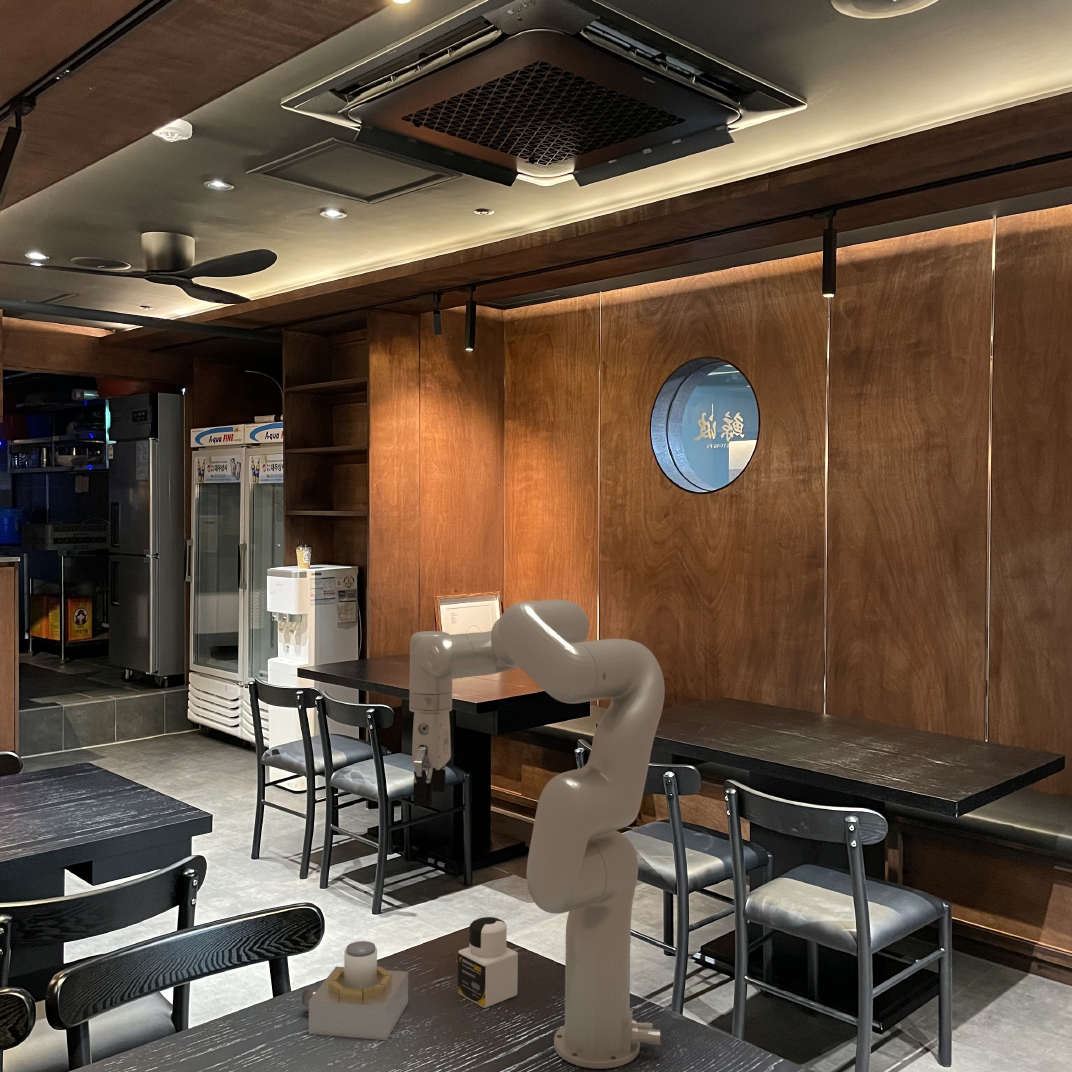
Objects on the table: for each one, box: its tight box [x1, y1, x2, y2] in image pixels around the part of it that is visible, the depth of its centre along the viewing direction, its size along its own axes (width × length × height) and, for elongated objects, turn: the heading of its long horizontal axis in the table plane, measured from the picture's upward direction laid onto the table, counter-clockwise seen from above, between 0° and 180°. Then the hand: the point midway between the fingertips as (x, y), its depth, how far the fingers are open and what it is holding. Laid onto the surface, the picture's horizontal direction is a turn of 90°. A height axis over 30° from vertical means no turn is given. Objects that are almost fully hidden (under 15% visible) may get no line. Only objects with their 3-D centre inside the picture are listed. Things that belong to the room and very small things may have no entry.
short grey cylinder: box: [343, 940, 378, 989], centre depth 156 cm, size 5×5×6 cm
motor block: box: [301, 965, 409, 1041], centre depth 156 cm, size 15×12×6 cm
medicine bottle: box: [457, 916, 519, 1009], centre depth 164 cm, size 7×7×12 cm
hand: (429, 798), depth 178 cm, fingers open, 9 cm apart
